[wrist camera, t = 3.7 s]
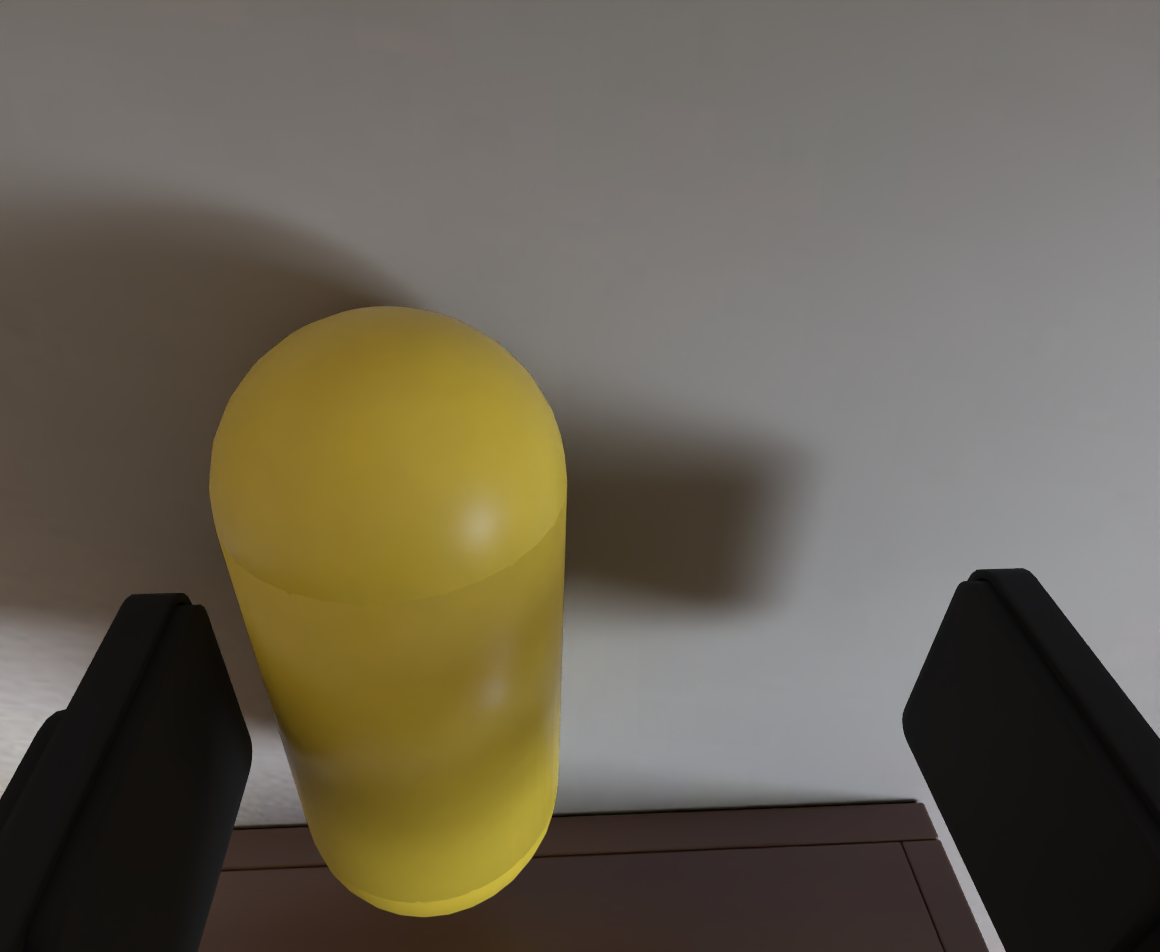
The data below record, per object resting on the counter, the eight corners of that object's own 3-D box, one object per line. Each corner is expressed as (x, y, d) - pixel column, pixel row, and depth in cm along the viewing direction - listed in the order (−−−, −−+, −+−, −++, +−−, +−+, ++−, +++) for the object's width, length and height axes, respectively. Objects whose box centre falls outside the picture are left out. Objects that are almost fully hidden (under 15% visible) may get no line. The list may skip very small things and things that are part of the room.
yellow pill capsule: (535, 244, 9) (197, 260, 8) (615, 408, 6) (118, 454, 6) (535, 728, 14) (328, 763, 14) (578, 933, 12) (322, 991, 11)
